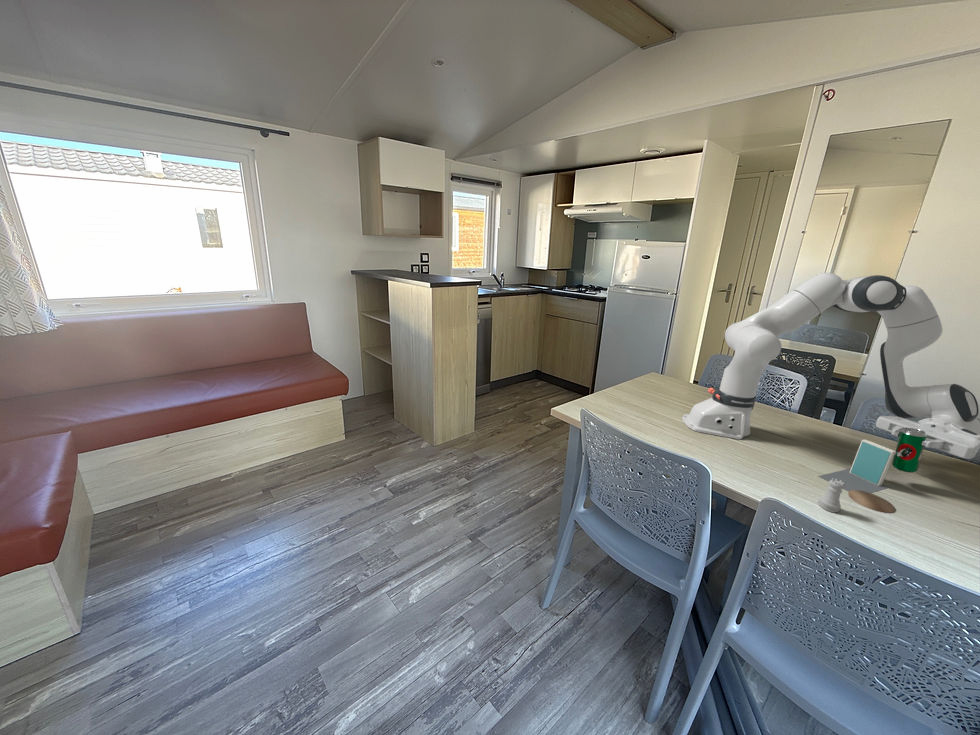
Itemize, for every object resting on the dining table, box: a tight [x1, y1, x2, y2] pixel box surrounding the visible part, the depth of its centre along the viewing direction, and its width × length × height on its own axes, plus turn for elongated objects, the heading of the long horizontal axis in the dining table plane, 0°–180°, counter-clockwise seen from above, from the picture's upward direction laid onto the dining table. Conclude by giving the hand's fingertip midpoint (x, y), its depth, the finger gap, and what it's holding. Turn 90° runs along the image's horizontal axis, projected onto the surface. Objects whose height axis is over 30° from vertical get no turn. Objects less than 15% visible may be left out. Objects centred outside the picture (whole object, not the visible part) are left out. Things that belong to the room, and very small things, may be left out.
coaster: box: [847, 490, 896, 514], centre depth 101 cm, size 9×9×1 cm
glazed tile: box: [849, 439, 896, 486], centre depth 110 cm, size 2×7×11 cm, turn 20°
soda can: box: [891, 428, 927, 474], centre depth 108 cm, size 5×5×12 cm
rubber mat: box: [817, 468, 891, 494], centre depth 110 cm, size 15×10×1 cm, turn 110°
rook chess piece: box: [817, 478, 845, 513], centre depth 98 cm, size 4×4×8 cm
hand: (909, 438), depth 107 cm, fingers closed on soda can, 5 cm apart
